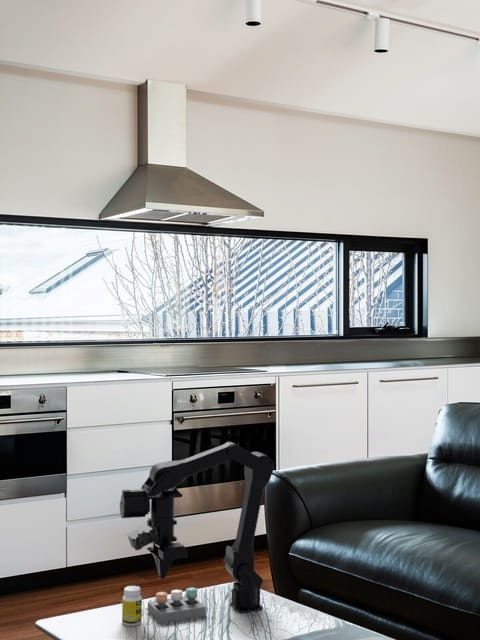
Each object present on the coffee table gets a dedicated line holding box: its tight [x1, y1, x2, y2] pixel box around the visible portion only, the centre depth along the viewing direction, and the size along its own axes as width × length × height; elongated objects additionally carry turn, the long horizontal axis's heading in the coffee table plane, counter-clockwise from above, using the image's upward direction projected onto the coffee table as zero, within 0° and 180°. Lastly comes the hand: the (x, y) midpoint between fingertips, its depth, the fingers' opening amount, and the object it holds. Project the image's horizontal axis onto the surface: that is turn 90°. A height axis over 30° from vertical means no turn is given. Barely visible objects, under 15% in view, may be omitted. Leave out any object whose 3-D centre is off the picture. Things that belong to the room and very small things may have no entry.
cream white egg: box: [170, 589, 183, 607], centre depth 214 cm, size 3×3×4 cm
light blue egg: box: [185, 587, 198, 605], centre depth 216 cm, size 3×3×4 cm
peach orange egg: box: [155, 591, 168, 609], centre depth 212 cm, size 3×3×4 cm
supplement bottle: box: [121, 585, 143, 627], centre depth 208 cm, size 5×5×8 cm
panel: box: [147, 595, 207, 625], centre depth 214 cm, size 12×9×2 cm
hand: (162, 578), depth 212 cm, fingers closed
